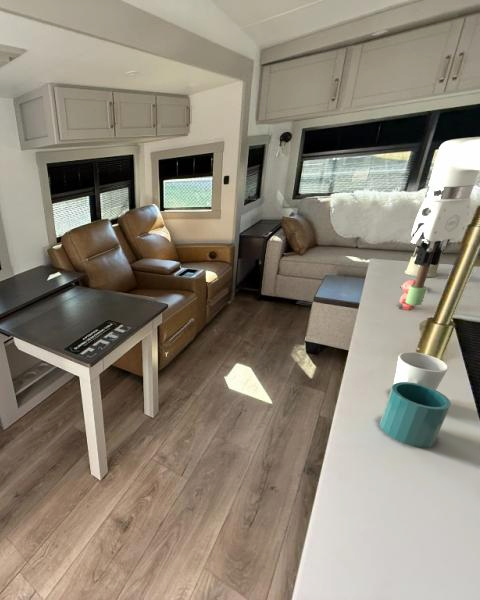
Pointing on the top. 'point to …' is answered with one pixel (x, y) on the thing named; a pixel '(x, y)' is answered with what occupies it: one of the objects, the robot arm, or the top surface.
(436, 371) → the cup
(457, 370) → the top surface
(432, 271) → the lamp
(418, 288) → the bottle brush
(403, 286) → the cat figurine
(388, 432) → the tumbler
